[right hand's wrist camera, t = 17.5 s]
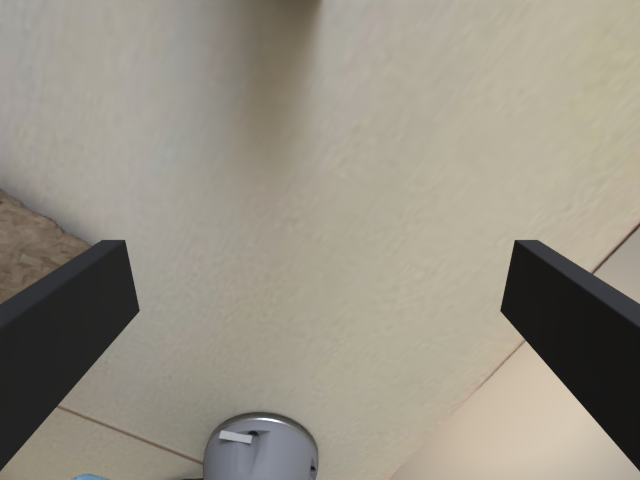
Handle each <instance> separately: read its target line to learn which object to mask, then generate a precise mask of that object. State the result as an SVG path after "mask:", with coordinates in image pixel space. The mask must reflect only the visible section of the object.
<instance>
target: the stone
mask: <svg viewBox="0 0 640 480" xmlns="http://www.w3.org/2000/svg"><path fill="white" fill-rule="evenodd" d="M90 247H91V246H90V245H89V244H88V243H87V242H85V241H83V240H81V239H79V238H77V237H75V236H73V235H70V234H68V233H66V232H65V231H64V230H63V229H62V228H61V227H59V226H58V225H57V223H56V222H55V220H53V219H50V218H48V217H46V216H43V215H42V214H39V213H35V212H33V211H31V210H29V209H28V208H26V207H25V206H24V205H23V204H22V202H21V201H18V200H16V199H14V198H12V197H11V196H9V195H8V194H6V193H5V191H4V190H2V189H0V304H1V303H3V302H4V301H6V300H8V299H9V298H11V297H12V296H14V295H16V294H17V293H19V292H20V291H22V290H24V289H25V288H27V287H28V286H30V285H31V284H33V283H35V282H36V281H38V280H39V279H41V278H43V277H44V276H46V275H47V274H49V273H51V272H52V271H54V270H55V269H57V268H59V267H60V266H62V265H63V264H65V263H67V262H68V261H70V260H71V259H73V258H75V257H76V256H78V255H79V254H81V253H82V252H84V251H86V250H87V249H89V248H90Z"/></svg>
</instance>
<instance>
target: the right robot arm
mask: <svg viewBox="0 0 640 480" xmlns="http://www.w3.org/2000/svg"><path fill="white" fill-rule="evenodd" d="M139 311H140V310H139V305H138V300H137V296H136V291H135V286H134V281H133V276H132V271H131V267H130V262H129V257H128V252H127V247H126V242H125V240H102V241H100V242H98V243H97V244H95V245H94V246H92V247H90V248H89V249H87V250H86V251H84V252H82V253H81V254H79V255H78V256H76V257H75V258H73V259H71V260H70V261H68V262H67V263H65V264H63V265H62V266H60V267H59V268H57V269H55V270H54V271H52V272H51V273H49V274H47V275H46V276H44V277H43V278H41V279H39V280H38V281H36V282H35V283H33V284H31V285H30V286H28V287H27V288H25V289H24V290H22V291H20V292H19V293H17V294H16V295H14V296H12V297H11V298H9V299H8V300H6V301H4V302H3V303H1V304H0V471H1V470H2V469H3V468H4V466H5V465H6V464H7V463H8V462H9V461H10V459H11V458H12V457H13V456H14V455H15V454H16V453H17V451H18V450H19V449H20V448H21V447H22V446H23V445H24V443H25V442H26V441H27V440H28V439H29V438H30V436H31V435H32V434H33V433H34V432H35V431H36V430H37V428H38V427H39V426H40V425H41V424H42V423H43V422H44V420H45V419H46V418H47V417H48V416H49V415H50V413H51V412H52V411H53V410H54V409H55V408H56V407H57V405H58V404H59V403H60V402H61V401H62V400H63V398H64V397H65V396H66V395H67V394H68V393H69V392H70V390H71V389H72V388H73V387H74V386H75V385H76V384H77V382H78V381H79V380H80V379H81V378H82V377H83V375H84V374H85V373H86V372H87V371H88V370H89V369H90V367H91V366H92V365H93V364H94V363H95V362H96V361H97V359H98V358H99V357H100V356H101V355H102V354H103V352H104V351H105V350H106V349H107V348H108V347H109V346H110V344H111V343H112V342H113V341H114V340H115V339H116V338H117V336H118V335H119V334H120V333H121V332H122V331H123V329H124V328H125V327H126V326H127V325H128V324H129V323H130V321H131V320H132V319H133V318H134V317H135V316H136V315H137V313H138V312H139ZM500 311H501V312H502V313H503V315H504V316H505V317H506V318H507V319H508V320H509V321H510V323H511V324H512V325H513V326H514V327H515V328H516V329H517V331H518V332H519V333H520V334H521V335H522V336H523V338H524V339H525V340H526V341H527V342H528V343H529V344H530V346H531V347H532V348H533V349H534V350H535V351H536V352H537V354H538V355H539V356H540V357H541V358H542V359H543V360H544V362H545V363H546V364H547V365H548V366H549V367H550V369H551V370H552V371H553V372H554V373H555V374H556V375H557V377H558V378H559V379H560V380H561V381H562V382H563V384H564V385H565V386H566V387H567V388H568V389H569V390H570V391H571V393H572V394H573V395H574V396H575V397H576V398H577V400H578V401H579V402H580V403H581V404H582V405H583V406H584V408H585V409H586V410H587V411H588V412H589V413H590V415H591V416H592V417H593V418H594V419H595V420H596V422H597V423H598V424H599V425H600V426H601V427H602V428H603V430H604V431H605V432H606V433H607V434H608V435H609V436H610V438H611V439H612V440H613V441H614V442H615V443H616V444H617V446H618V447H619V448H620V449H621V450H622V451H623V453H624V454H625V455H626V456H627V457H628V458H629V459H630V461H631V462H632V463H633V464H634V465H635V466H636V467H637V469H638V470H639V471H640V304H639V303H637V302H636V301H634V300H632V299H631V298H629V297H628V296H626V295H624V294H623V293H621V292H620V291H618V290H616V289H615V288H613V287H612V286H610V285H609V284H607V283H605V282H604V281H602V280H600V279H599V278H597V277H596V276H594V275H593V274H591V273H589V272H588V271H586V270H585V269H583V268H581V267H580V266H578V265H577V264H575V263H573V262H572V261H570V260H569V259H567V258H565V257H564V256H562V255H561V254H559V253H558V252H556V251H554V250H553V249H551V248H550V247H548V246H546V245H545V244H543V243H542V242H540V241H538V240H515V242H514V247H513V252H512V257H511V262H510V267H509V271H508V276H507V281H506V286H505V291H504V296H503V300H502V305H501V310H500ZM317 470H318V449H317V445H316V443H315V440H314V439H313V437H312V436H311V434H310V433H309V432H308V431H307V430H306V429H305V428H304V427H303V426H301V425H300V424H298V423H297V422H295V421H293V420H291V419H289V418H287V417H284V416H281V415H277V414H272V413H247V414H242V415H238V416H236V417H233V418H231V419H229V420H227V421H225V422H223V423H222V424H221V425H219V426H218V427H217V428H216V429H215V430H214V432H213V433H212V435H211V436H210V438H209V441H208V444H207V447H206V450H205V454H204V460H203V478H199V479H183V480H315V479H316V475H317ZM71 480H109V479H106V478H102V477H99V476H96V475H92V474H83V475H79V476H77V477H74V478H72V479H71Z"/></svg>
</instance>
